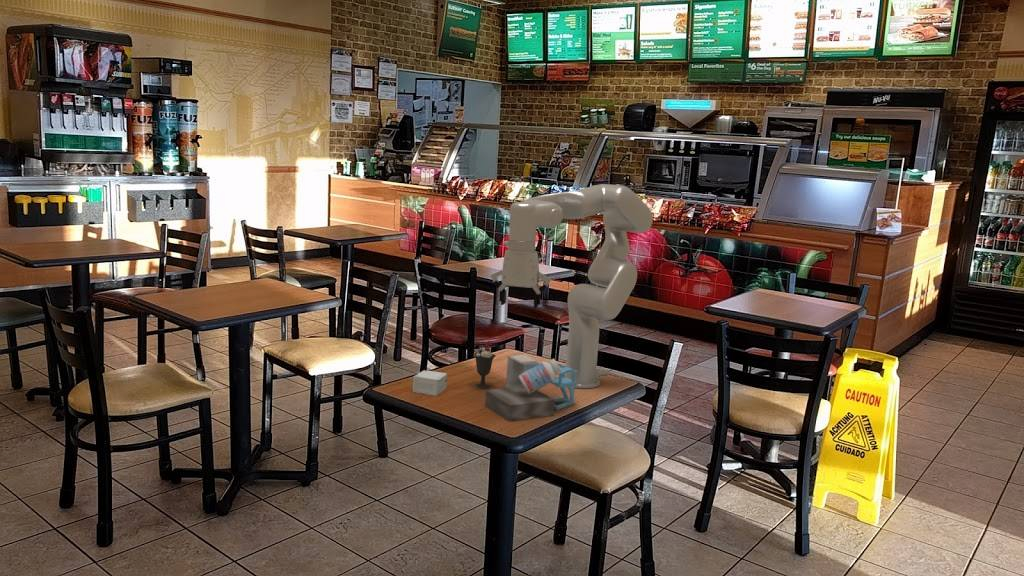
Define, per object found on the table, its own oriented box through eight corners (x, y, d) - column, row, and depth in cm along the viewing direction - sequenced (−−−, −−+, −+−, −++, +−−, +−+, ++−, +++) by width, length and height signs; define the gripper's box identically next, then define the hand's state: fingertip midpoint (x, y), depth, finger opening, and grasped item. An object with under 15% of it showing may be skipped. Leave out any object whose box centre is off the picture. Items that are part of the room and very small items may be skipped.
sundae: (491, 391, 234) (493, 342, 232) (469, 388, 235) (471, 340, 233) (495, 385, 240) (498, 337, 238) (474, 382, 242) (477, 335, 239)
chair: (579, 406, 225) (582, 365, 223) (556, 409, 220) (559, 368, 218) (563, 398, 231) (566, 359, 229) (540, 401, 227) (543, 362, 225)
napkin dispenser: (520, 386, 241) (522, 353, 239) (536, 395, 232) (539, 361, 231) (505, 387, 238) (507, 354, 237) (521, 397, 230) (523, 363, 228)
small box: (436, 396, 226) (437, 379, 226) (411, 392, 229) (412, 375, 228) (446, 389, 234) (447, 373, 233) (422, 385, 236) (423, 369, 235)
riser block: (527, 401, 228) (528, 385, 227) (553, 417, 216) (554, 399, 215) (485, 407, 221) (485, 390, 220) (509, 423, 209) (510, 405, 208)
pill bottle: (518, 376, 215) (553, 356, 215) (516, 375, 221) (551, 355, 222) (529, 396, 214) (564, 375, 215) (527, 394, 220) (561, 374, 221)
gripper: (488, 245, 218) (487, 305, 222) (549, 250, 214) (546, 310, 218) (495, 242, 226) (493, 300, 229) (554, 246, 222) (551, 305, 225)
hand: (519, 305), depth 223 cm, fingers open, 9 cm apart
